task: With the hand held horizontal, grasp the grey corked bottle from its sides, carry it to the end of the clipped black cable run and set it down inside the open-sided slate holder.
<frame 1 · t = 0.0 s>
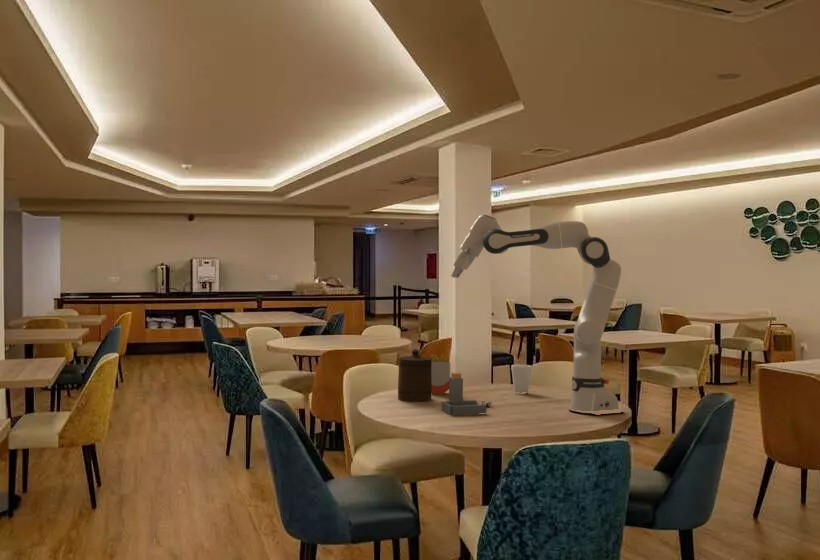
hand: (454, 277, 296), 54 cm above the table, tool tilted 30°, fingers open, 8 cm apart
grey corked bottle: (455, 406, 290), on the table
french fries container: (437, 393, 321), on the table
foam cup: (520, 393, 326), on the table
wooden container: (414, 399, 306), on the table
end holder: (463, 412, 278), on the table
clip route: (480, 408, 287), on the table
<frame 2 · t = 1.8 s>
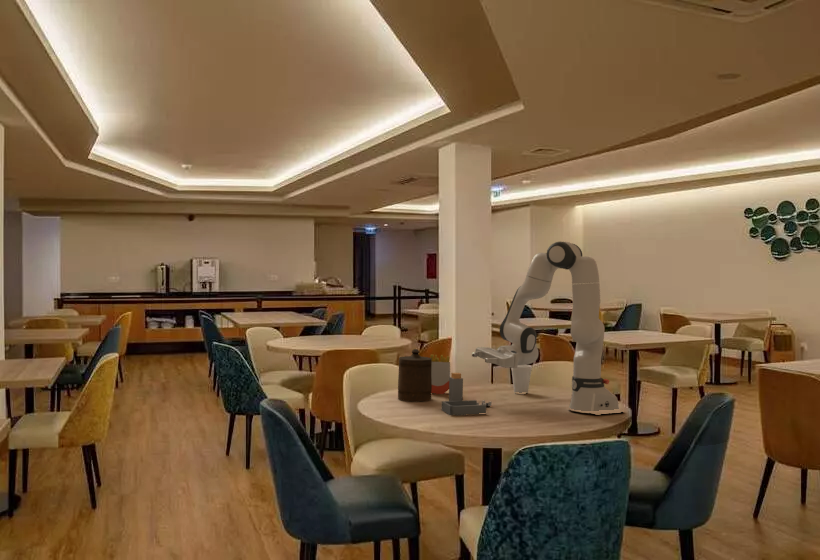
hand: (479, 357, 290), 21 cm above the table, tool horizontal, fingers open, 8 cm apart
nothing on the table moved.
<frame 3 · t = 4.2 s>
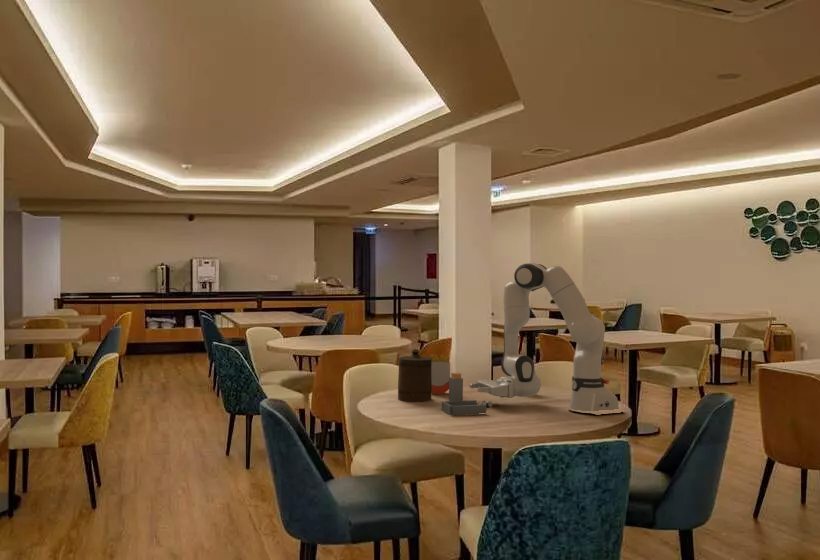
hand: (474, 387, 292), 8 cm above the table, tool horizontal, fingers open, 8 cm apart
nothing on the table moved.
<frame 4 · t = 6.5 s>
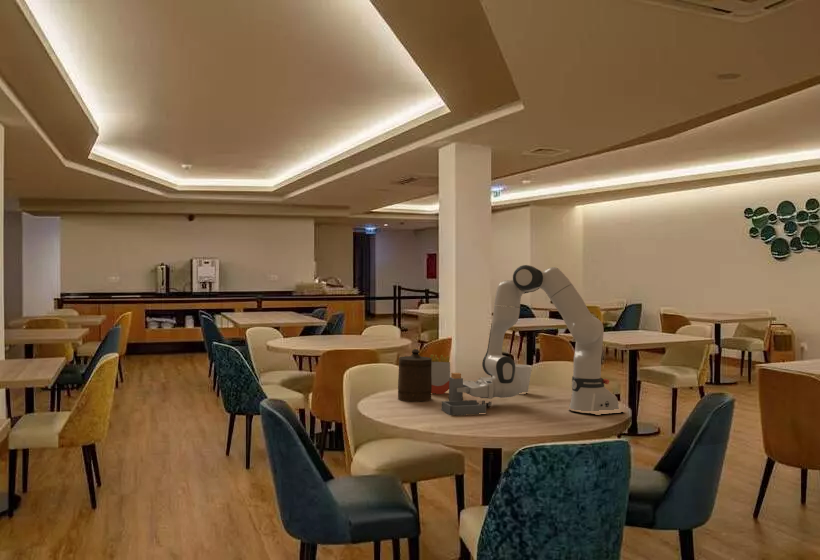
hand: (453, 388, 290), 8 cm above the table, tool horizontal, fingers closed on grey corked bottle, 4 cm apart
grey corked bottle: (455, 406, 290), on the table, touching gripper
everything else where it was.
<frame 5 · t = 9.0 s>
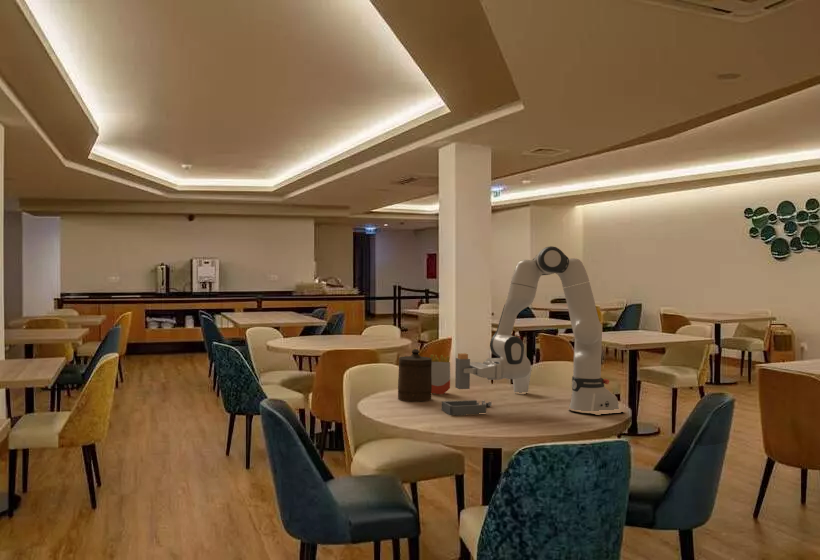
hand: (460, 369, 280), 17 cm above the table, tool horizontal, fingers closed on grey corked bottle, 4 cm apart
grey corked bottle: (462, 388, 281), point 9 cm above the table, touching gripper
everything else where it was.
when the fingers open (9 cm above the table, at t = 11.6 s): grey corked bottle stays where it is, resting on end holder.
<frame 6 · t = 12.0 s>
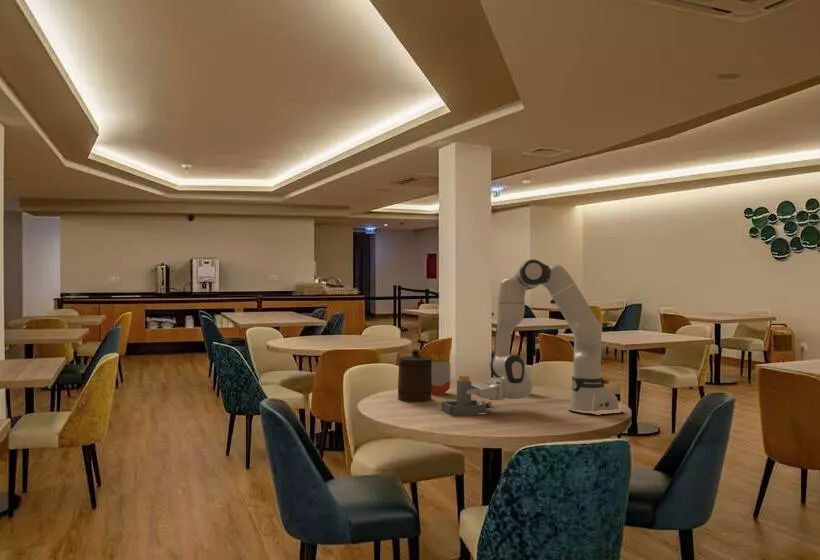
hand: (461, 389, 278), 9 cm above the table, tool horizontal, fingers open, 8 cm apart
grey corked bottle: (463, 410, 278), point 1 cm above the table, touching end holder
everything else where it was.
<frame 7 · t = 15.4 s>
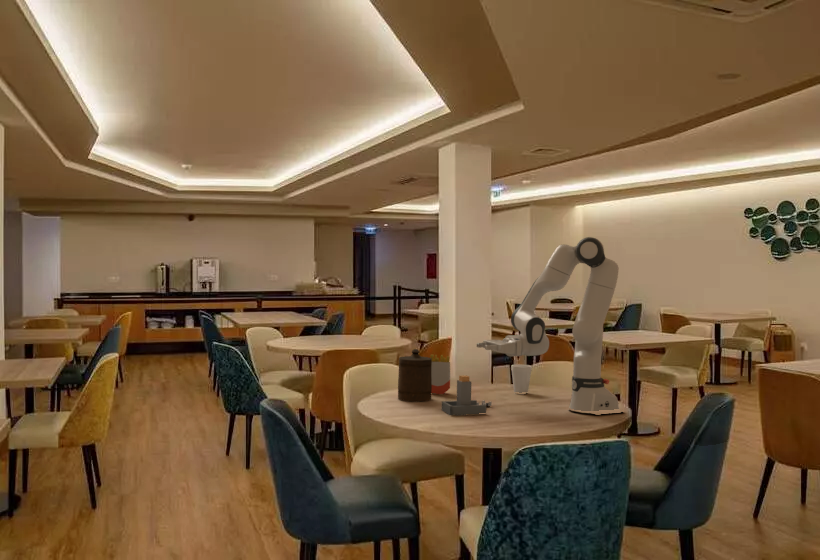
hand: (481, 346, 287), 26 cm above the table, tool horizontal, fingers open, 8 cm apart
nothing on the table moved.
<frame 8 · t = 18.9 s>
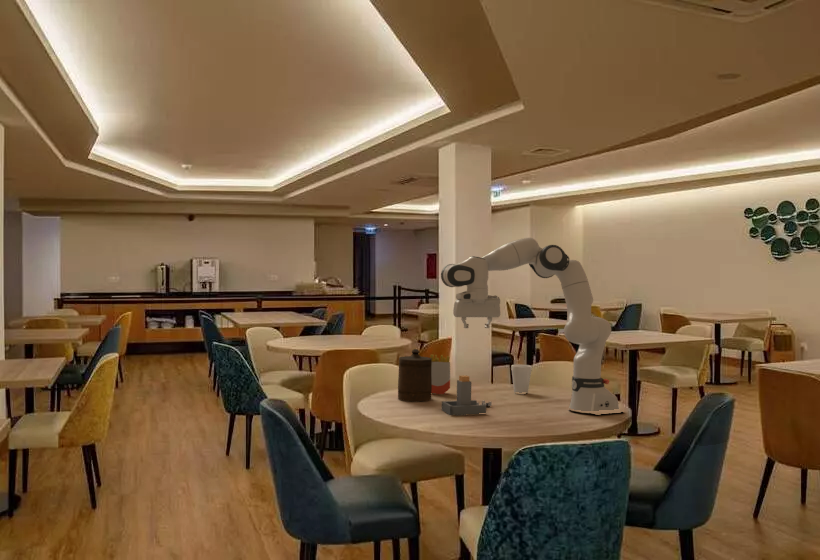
hand: (476, 328, 290), 33 cm above the table, tool pointing down, fingers open, 8 cm apart
nothing on the table moved.
at the end: grey corked bottle inside the target area on the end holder (0.0 cm from its centre), point 0.6 cm above the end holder's base; grey corked bottle tilted 0°; the gripper is holding nothing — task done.
